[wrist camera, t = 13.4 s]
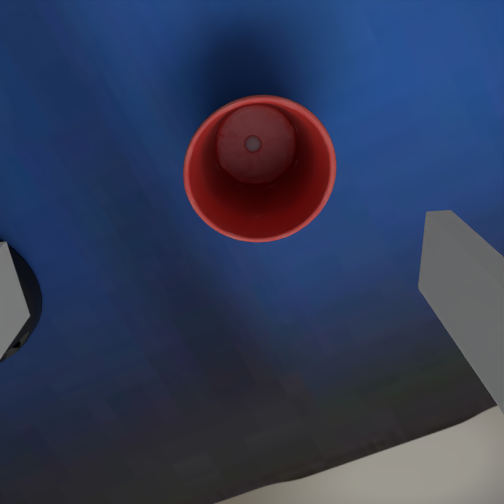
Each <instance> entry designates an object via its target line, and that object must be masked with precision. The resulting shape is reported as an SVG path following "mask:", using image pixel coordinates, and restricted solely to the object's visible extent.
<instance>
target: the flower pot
mask: <svg viewBox="0 0 504 504" xmlns="http://www.w3.org/2000/svg"><path fill="white" fill-rule="evenodd" d="M335 176H336V156H335V151H334V147H333V143H332V141H331V138H330V136H329V134H328V132H327V130H326V128H325V127H324V126H323V124H322V123H321V121H320V120H319V119H318V118H317V117H316V116H315V115H314V114H313V113H312V112H310V111H309V110H308V109H307V108H305V107H304V106H302V105H300V104H299V103H297V102H294V101H292V100H290V99H287V98H283V97H279V96H273V95H253V96H247V97H243V98H239V99H236V100H234V101H232V102H229V103H227V104H225V105H224V106H222V107H220V108H219V109H217V110H216V111H215V112H213V113H212V114H211V115H210V116H209V117H208V118H207V119H206V120H205V121H204V122H203V123H202V124H201V125H200V126H199V128H198V129H197V130H196V132H195V134H194V135H193V137H192V139H191V141H190V143H189V145H188V148H187V151H186V154H185V159H184V167H183V179H184V186H185V191H186V194H187V197H188V199H189V201H190V203H191V205H192V207H193V208H194V210H195V211H196V213H197V214H198V215H199V216H200V218H201V219H202V220H204V221H205V222H206V223H207V224H208V225H209V226H210V227H212V228H213V229H214V230H216V231H218V232H220V233H221V234H224V235H226V236H228V237H231V238H234V239H237V240H242V241H248V242H268V241H274V240H278V239H282V238H284V237H287V236H289V235H291V234H293V233H295V232H297V231H299V230H300V229H302V228H303V227H305V226H306V225H307V224H309V223H310V222H311V221H312V220H313V219H314V218H315V217H316V216H317V215H318V214H319V213H320V211H321V210H322V209H323V207H324V206H325V204H326V202H327V200H328V199H329V196H330V194H331V192H332V189H333V186H334V182H335Z"/></svg>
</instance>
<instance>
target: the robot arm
mask: <svg viewBox="0 0 504 504" xmlns="http://www.w3.org/2000/svg"><path fill="white" fill-rule="evenodd" d="M418 288H419V290H420V291H421V293H422V294H423V296H424V297H425V299H426V300H427V302H428V303H429V305H430V306H431V308H432V309H433V311H434V312H435V313H436V315H437V316H438V318H439V319H440V321H441V322H442V324H443V325H444V327H445V328H446V330H447V331H448V333H449V334H450V336H451V337H452V338H453V340H454V341H455V343H456V344H457V346H458V347H459V349H460V350H461V352H462V353H463V355H464V356H465V358H466V359H467V361H468V362H469V363H470V365H471V366H472V368H473V369H474V371H475V372H476V374H477V375H478V377H479V378H480V380H481V381H482V383H483V384H484V385H485V387H486V388H487V390H488V391H489V393H490V394H491V396H492V397H493V399H494V400H495V402H496V403H497V405H498V406H499V408H500V409H501V410H502V412H503V413H504V257H503V256H502V255H501V254H500V253H498V252H497V251H496V250H495V249H494V248H493V247H492V246H491V245H489V244H488V243H487V242H486V241H485V240H484V239H483V238H482V237H480V236H479V235H478V234H477V233H476V232H475V231H474V230H473V229H471V228H470V227H469V226H468V225H467V224H466V223H465V222H464V221H462V220H461V219H460V218H459V217H458V216H457V215H456V214H455V213H453V212H452V211H451V210H446V211H431V212H426V219H425V228H424V238H423V247H422V257H421V266H420V275H419V285H418ZM41 311H42V297H41V291H40V288H39V285H38V282H37V280H36V278H35V276H34V274H33V272H32V271H31V269H30V267H29V266H28V265H27V263H26V262H25V261H24V260H23V259H22V258H21V257H20V256H19V255H18V254H17V253H16V252H15V251H14V250H13V249H12V248H11V247H9V246H8V245H7V242H2V241H1V240H0V363H1V362H2V361H4V360H5V359H7V358H9V357H10V356H11V355H13V354H14V353H16V352H17V351H18V350H19V349H20V348H21V347H22V346H23V345H24V344H25V343H26V341H27V340H28V338H29V337H30V335H31V334H32V332H33V331H34V329H35V328H36V326H37V324H38V322H39V319H40V316H41Z"/></svg>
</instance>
